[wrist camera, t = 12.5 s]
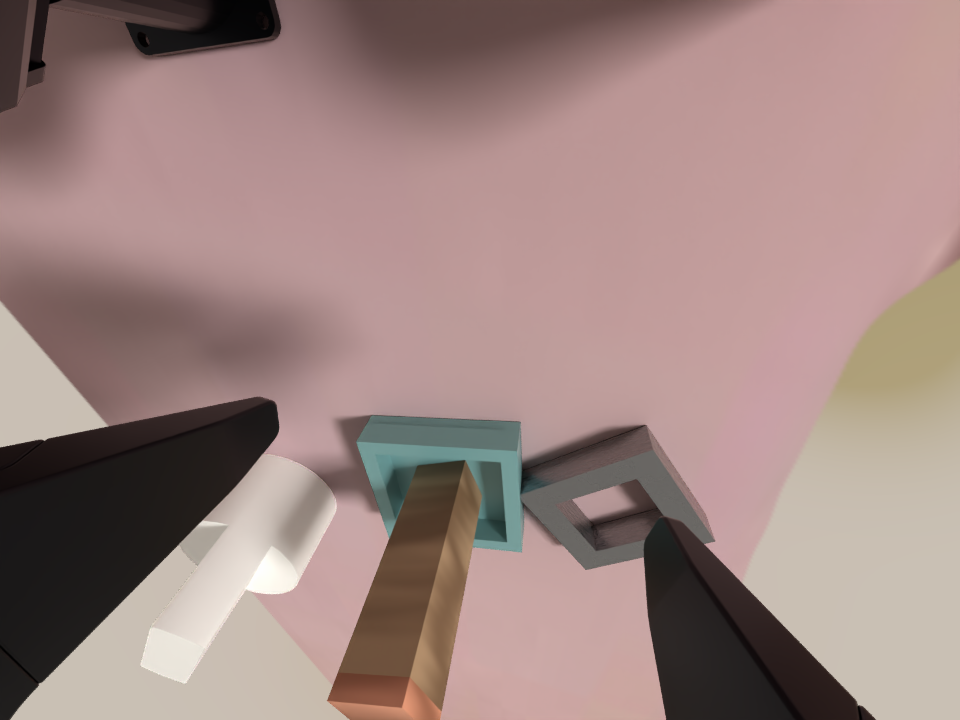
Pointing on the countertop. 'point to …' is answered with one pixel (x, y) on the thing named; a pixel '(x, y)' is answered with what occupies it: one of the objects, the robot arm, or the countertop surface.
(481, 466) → the tray
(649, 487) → the grey square flat frame
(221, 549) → the cylinder with rectangular tab
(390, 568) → the pin
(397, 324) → the countertop surface
